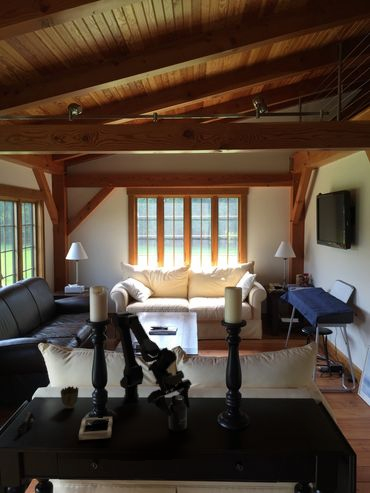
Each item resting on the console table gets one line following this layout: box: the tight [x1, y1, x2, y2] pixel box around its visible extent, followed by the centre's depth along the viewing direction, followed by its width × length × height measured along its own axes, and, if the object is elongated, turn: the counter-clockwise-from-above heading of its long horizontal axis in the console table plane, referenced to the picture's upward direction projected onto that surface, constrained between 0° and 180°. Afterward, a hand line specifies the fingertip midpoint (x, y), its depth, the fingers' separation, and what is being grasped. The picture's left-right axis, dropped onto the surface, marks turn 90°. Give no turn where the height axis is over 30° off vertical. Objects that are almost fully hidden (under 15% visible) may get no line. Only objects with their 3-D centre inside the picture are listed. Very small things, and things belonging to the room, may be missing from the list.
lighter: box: [16, 411, 36, 436], centre depth 150 cm, size 9×2×6 cm
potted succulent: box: [60, 385, 80, 410], centre depth 167 cm, size 8×7×8 cm
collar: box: [78, 416, 113, 441], centre depth 149 cm, size 11×11×2 cm
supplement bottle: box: [168, 394, 188, 433], centre depth 151 cm, size 7×7×12 cm
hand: (179, 411), depth 150 cm, fingers open, 9 cm apart
